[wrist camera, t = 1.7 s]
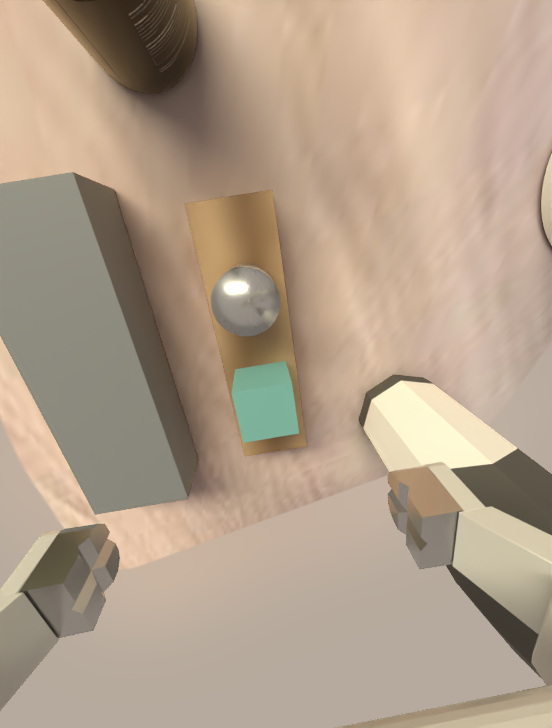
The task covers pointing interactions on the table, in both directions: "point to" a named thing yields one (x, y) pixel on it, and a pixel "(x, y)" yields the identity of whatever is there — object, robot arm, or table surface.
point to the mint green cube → (264, 402)
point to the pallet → (261, 247)
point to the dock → (91, 342)
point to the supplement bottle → (134, 38)
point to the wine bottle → (461, 471)
